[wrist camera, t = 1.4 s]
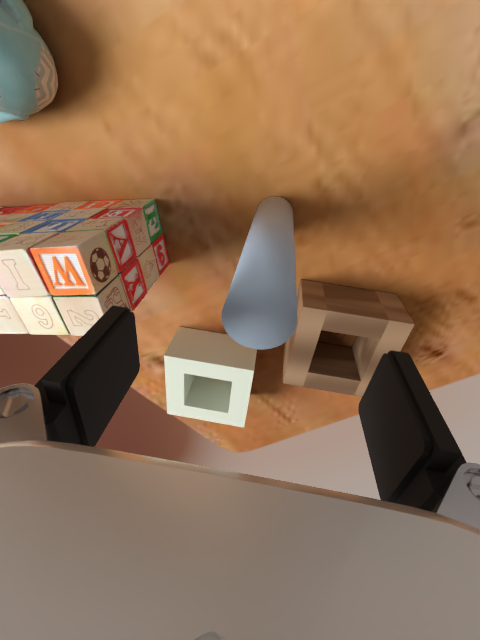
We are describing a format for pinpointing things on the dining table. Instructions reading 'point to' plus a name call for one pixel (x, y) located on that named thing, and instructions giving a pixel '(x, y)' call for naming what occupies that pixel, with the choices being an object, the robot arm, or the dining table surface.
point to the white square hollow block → (208, 376)
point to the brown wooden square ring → (347, 318)
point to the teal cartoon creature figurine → (23, 64)
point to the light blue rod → (264, 281)
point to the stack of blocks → (76, 263)
